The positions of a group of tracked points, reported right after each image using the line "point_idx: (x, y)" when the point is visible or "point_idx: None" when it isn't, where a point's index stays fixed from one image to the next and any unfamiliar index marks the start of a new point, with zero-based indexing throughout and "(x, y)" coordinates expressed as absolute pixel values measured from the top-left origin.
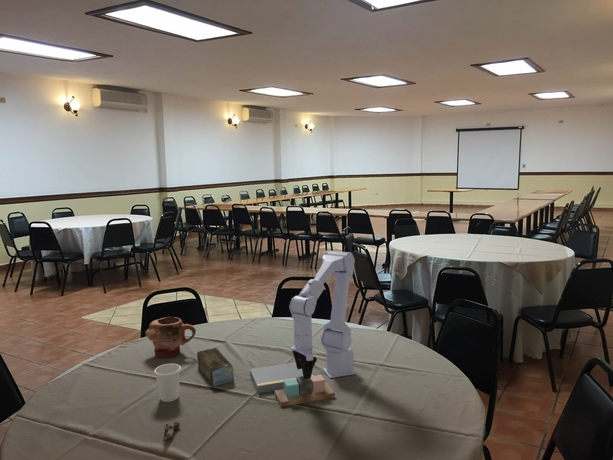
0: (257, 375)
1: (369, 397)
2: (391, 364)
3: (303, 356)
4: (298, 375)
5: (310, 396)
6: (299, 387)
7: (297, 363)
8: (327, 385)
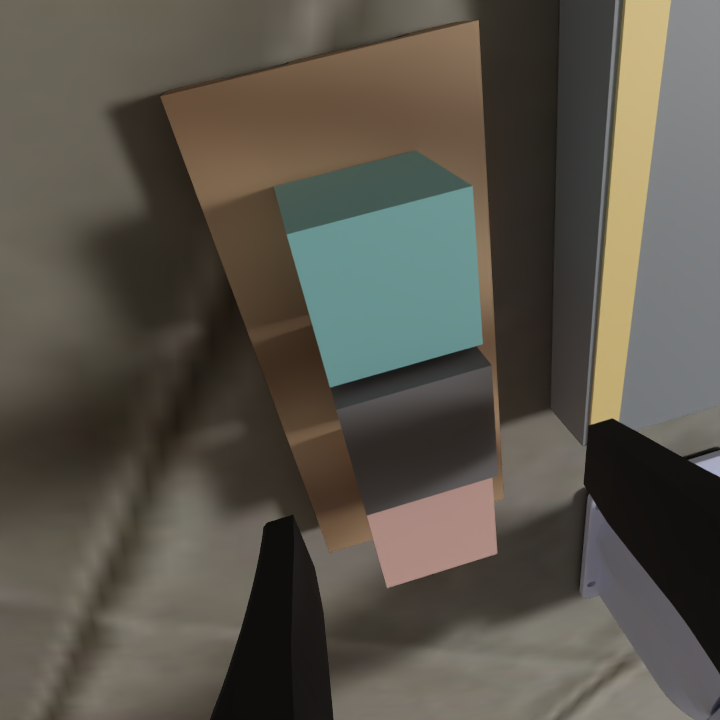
0: None
1: None
2: (607, 691)
3: (717, 644)
4: (673, 317)
5: (288, 409)
6: None
7: (652, 487)
8: None
